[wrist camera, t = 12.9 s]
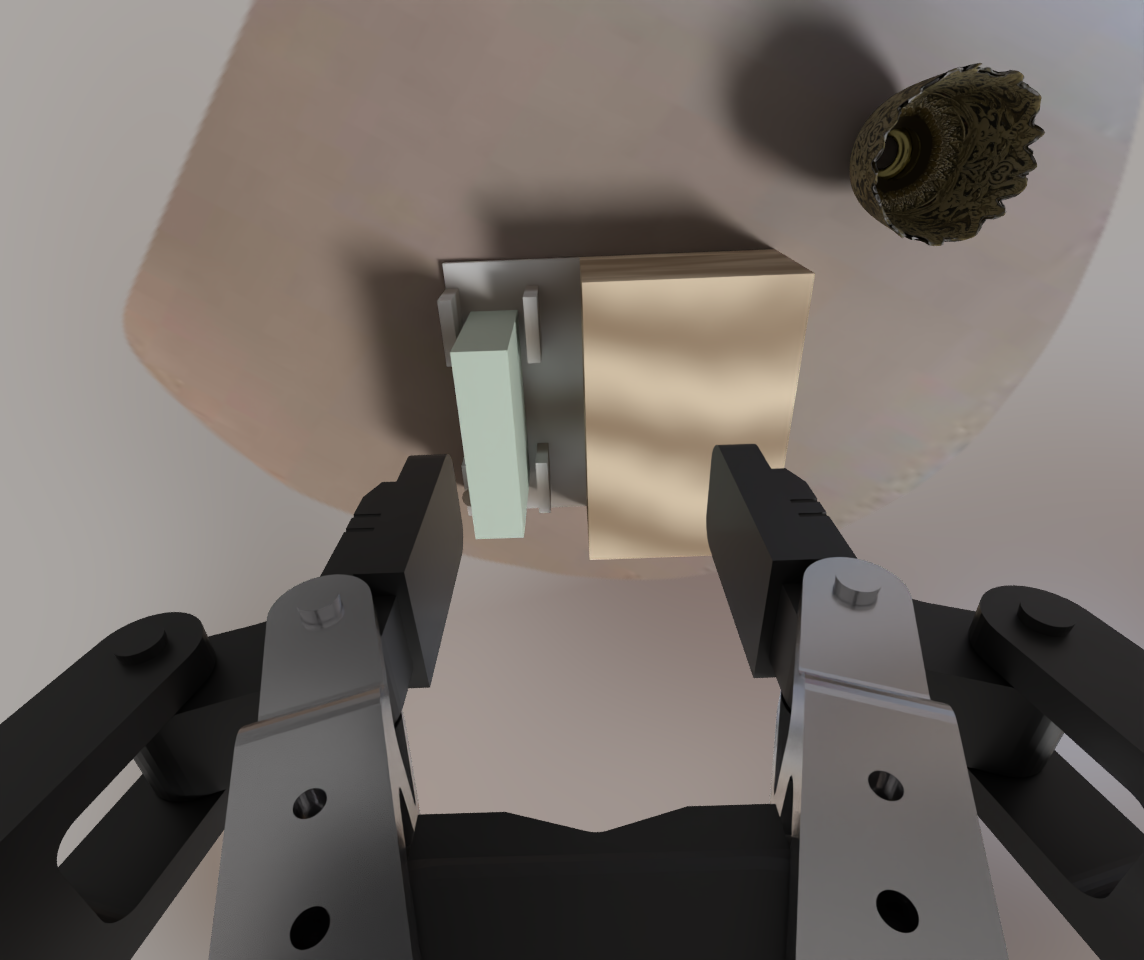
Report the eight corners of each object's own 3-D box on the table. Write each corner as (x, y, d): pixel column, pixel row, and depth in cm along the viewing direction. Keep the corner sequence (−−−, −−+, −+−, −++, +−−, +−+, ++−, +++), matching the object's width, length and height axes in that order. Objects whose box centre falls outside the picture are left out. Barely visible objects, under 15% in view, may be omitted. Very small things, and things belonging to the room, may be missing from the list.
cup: (977, 99, 34) (1083, 92, 27) (907, 236, 37) (985, 262, 30) (854, 57, 33) (932, 39, 26) (795, 203, 36) (849, 222, 29)
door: (454, 312, 39) (430, 353, 32) (517, 309, 39) (507, 350, 32) (475, 475, 45) (459, 539, 38) (530, 473, 45) (523, 537, 38)
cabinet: (443, 262, 38) (420, 289, 32) (774, 249, 37) (815, 273, 31) (477, 507, 47) (463, 564, 41) (743, 497, 46) (770, 553, 40)
